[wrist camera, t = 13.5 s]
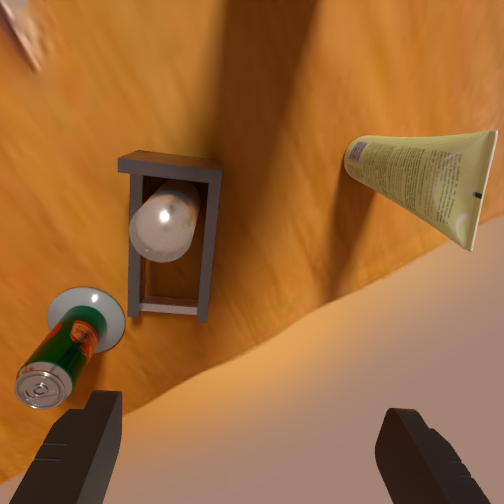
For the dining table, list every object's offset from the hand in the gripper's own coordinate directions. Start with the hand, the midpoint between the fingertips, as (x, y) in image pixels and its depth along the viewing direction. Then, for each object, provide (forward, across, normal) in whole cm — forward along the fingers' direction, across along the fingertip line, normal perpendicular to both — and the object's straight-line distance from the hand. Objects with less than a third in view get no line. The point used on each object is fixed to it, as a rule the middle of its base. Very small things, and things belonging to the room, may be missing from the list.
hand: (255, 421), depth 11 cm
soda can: (+31, +16, +17) cm, 39 cm away
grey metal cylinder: (+32, +6, +1) cm, 32 cm away
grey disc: (+32, +16, +17) cm, 39 cm away
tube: (+32, -14, -6) cm, 35 cm away
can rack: (+32, +6, +5) cm, 33 cm away
